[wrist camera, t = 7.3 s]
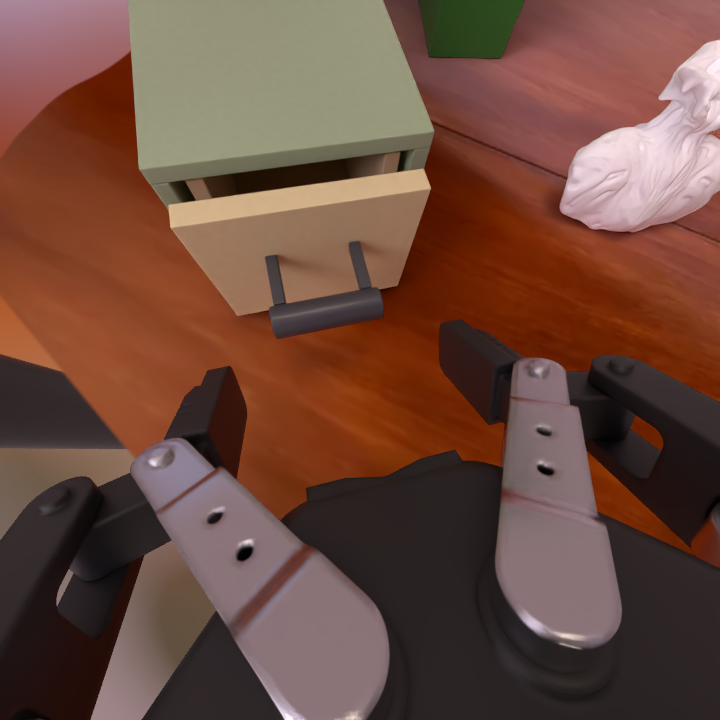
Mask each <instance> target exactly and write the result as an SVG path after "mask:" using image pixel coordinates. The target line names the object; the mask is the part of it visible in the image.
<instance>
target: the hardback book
mask: <svg viewBox="0 0 720 720" xmlns="http://www.w3.org/2000/svg"><path fill="white" fill-rule="evenodd" d="M524 1H525V0H419V5H420V10H421V16H422V21H423V26H424V32H425V37H426V42H427V48H428V53H429V57H463V58H501V57H502V55H503V52H504V50H505V47H506V45H507V42H508V40H509V37H510V35H511V33H512V30H513V28H514V25H515V23H516V20H517V18H518V15H519V13H520V11H521V8H522V6H523V3H524Z"/></svg>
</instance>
